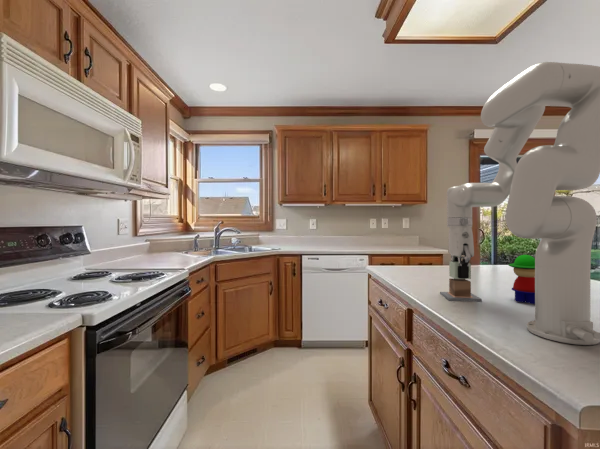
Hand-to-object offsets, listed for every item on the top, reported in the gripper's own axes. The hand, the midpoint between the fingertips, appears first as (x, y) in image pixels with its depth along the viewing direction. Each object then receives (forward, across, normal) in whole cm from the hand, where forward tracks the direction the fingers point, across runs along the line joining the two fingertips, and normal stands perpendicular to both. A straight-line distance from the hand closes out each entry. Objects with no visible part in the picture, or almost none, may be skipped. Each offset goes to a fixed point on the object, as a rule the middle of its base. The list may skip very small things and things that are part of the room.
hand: (459, 276), depth 101 cm
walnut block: (+6, 0, 0) cm, 6 cm away
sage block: (0, 0, 0) cm, 0 cm away
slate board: (+7, 0, 0) cm, 7 cm away
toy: (+8, -3, -19) cm, 21 cm away
